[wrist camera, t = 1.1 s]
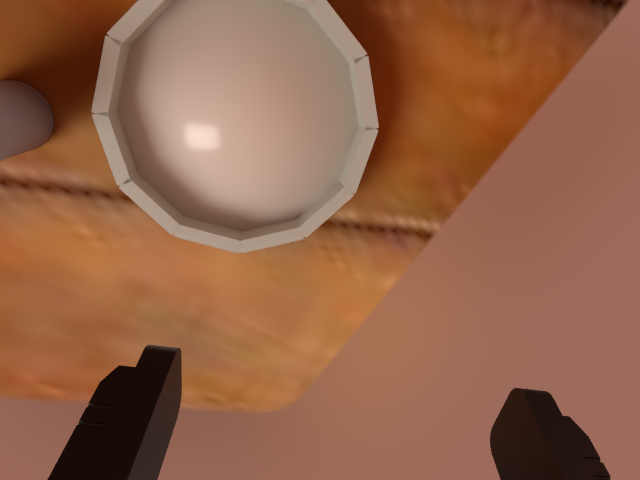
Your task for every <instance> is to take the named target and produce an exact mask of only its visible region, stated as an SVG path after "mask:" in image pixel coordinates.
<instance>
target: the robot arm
mask: <svg viewBox="0 0 640 480" xmlns="http://www.w3.org/2000/svg"><path fill="white" fill-rule="evenodd" d="M181 393H182V382H181V349H180V348H172V347H163V346H155V345H147V346H146V347H145V349H144V351H143V353H142V355H141V357H140V359H139V361H138V363H137V365H136V367H128V366H118V367H117V368H116V369H114V370H113V371H112V372H111V373H110V374H109V375H108V376H106V377H105V378H104V379H103V380H102V381H101V382H100V383H99V385H98V387H97V389H96V391H95V392H94V394H93V396H92V398H91V400H90V402H89V405H88V407H87V408H86V409H85V411H84V413H83V415H82V417H81V419H80V421H79V424H78V425H77V426H76V428H75V430H74V432H73V433H72V435H71V437H70V439H69V441H68V443H67V445H66V446H65V448H64V450H63V452H62V454H61V456H60V458H59V459H58V461H57V463H56V465H55V467H54V469H53V471H52V473H51V475H50V476H49V478H48V480H157V479H158V476H159V473H160V469H161V466H162V463H163V460H164V457H165V454H166V451H167V448H168V445H169V441H170V439H171V436H172V432H173V429H174V426H175V423H176V420H177V417H178V413H179V408H180V402H181ZM490 445H491V452H492V455H493V458H494V461H495V464H496V467H497V470H498V473H499V476H500V479H501V480H610V475H609V473H608V471H607V469H606V468H605V466H604V464H603V463H601V462H600V457H599V455H598V453H597V452H596V450H595V448H594V446H593V444H592V442H591V441H590V439H589V437H588V436H587V435H586V434H585V433H584V432H583V431H582V430H581V428H580V427H579V426H578V425H577V424H576V423H575V422H574V421H573V420H572V419H571V418H570V417H568V416H562V414H561V412H560V410H559V408H558V406H557V404H556V403H555V400H554V399H553V397H552V396H551V394H550V393H548V392H546V391H538V390H529V389H521V388H514V389H513V390H512V391H511V392H510V394H509V396H508V398H507V400H506V402H505V403H504V406H503V407H502V409H501V411H500V413H499V415H498V417H497V419H496V421H495V423H494V425H493V427H492V430H491V436H490Z"/></svg>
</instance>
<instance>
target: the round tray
mask: <svg viewBox="0 0 640 480" xmlns="http://www.w3.org/2000/svg"><path fill="white" fill-rule="evenodd" d="M107 34H108V35H109V36H110V37H108V36H105V40H104V45H103V51H102V56H101V61H100V67H99V72H98V78H97V83H96V89H95V94H94V99H93V105H92V110H91V112H93V113H96V114H92V118H93V120H94V123H95V126H96V129H97V131H98V134H99V137H100V140H101V142H102V145H103V148H104V151H105V153H106V156H107V159H108V162H109V165H110V167H111V170H112V173H113V176H114V178H115V181H116V184H117V185H121V186H120V187H119V188H120V189H121V190H122V191H123V192H124V193H125V194H126V195H127V196H128V197H130V198H131V199H132V200H133V201H134V202H135V203H136V204H137V205H138V206H140V207H141V208H142V209H143V210H144V211H145V212H146V213H147V214H148V215H150V216H151V217H152V218H153V219H154V220H155V221H156V222H157V223H158V224H160V225H161V226H162V227H163V228H164V229H165V230H166V231H167V232H169V233H170V234H171V235H173V234H174V233H175V234H174V237H178V238H181V239H185V240H189V241H193V242H197V243H201V244H204V245H208V246H212V247H216V248H220V249H223V250H227V251H231V252H235V253H239V252H240V251H241V253H246V252H250V251H254V250H259V249H263V248H267V247H272V246H276V245H280V244H285V243H289V242H293V241H298V240H302V239H304V237H305V238H307V237H308V236H309V235H310V234H311V233H312V232H313V231H314V230H316V229H317V228H318V227H319V226H320V225H321V224H322V223H324V222H325V221H326V220H327V219H328V218H329V217H330V216H332V215H333V214H334V213H335V212H336V211H337V210H338V209H339V208H341V207H342V206H343V205H344V204H345V203H346V202H347V201H349V200H350V199H351V198H352V197H353V196H354V194H353V193H355V194H356V191H357V188H358V186H359V183H360V180H361V177H362V175H363V172H364V169H365V166H366V164H367V161H368V158H369V155H370V153H371V150H372V147H373V144H374V142H375V139H376V136H377V133H378V131H379V130H377V129H376V128H379V125H378V118H377V111H376V104H375V98H374V91H373V84H372V78H371V71H370V64H369V57H368V56H365V55H366V54H367V53H366V51H365V50H364V49H363V47H362V46H361V45H360V43H359V42H358V41H357V39H356V38H355V37H354V35H353V34H352V33H351V32H350V30H349V29H348V28H347V26H346V25H345V24H344V22H343V21H342V20H341V18H340V17H339V16H338V15H337V13H336V12H335V11H334V9H333V8H332V7H331V5H330V4H329V3H328V1H327V0H138V1H137V2H136V3H135V4H134V5H133V6H132V7H131V8H130V9H129V10H128V11H127V13H126V14H125V15H124V16H123V17H122V18H121V19H120V20H119V21H118V22H117V23H116V24H115V25H114V26H113V27H112V28H111V29H110V30H109V31H108V32H107ZM364 56H365V57H364ZM303 236H304V237H303Z"/></svg>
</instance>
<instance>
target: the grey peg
mask: <svg viewBox="0 0 640 480" xmlns="http://www.w3.org/2000/svg"><path fill="white" fill-rule="evenodd" d="M53 127H54V118H53V113H52V110H51V107H50V105H49V103H48V102H47V100H46V99H45V98H44V96H43V95H42V94H41V93H40V92H39V91H37V90H36V89H35V88H33V87H32V86H30V85H28V84H26V83H23V82H20V81H15V80H0V161H1V160H4V159H7V158H10V157H12V156H15V155H18V154H21V153H24V152H27V151H30V150H33V149H36V148H38V147H40V146H42V145H43V144H44V143H45V142H46V141H47V140H48V139H49V137H50V136H51V134H52V131H53Z"/></svg>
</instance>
